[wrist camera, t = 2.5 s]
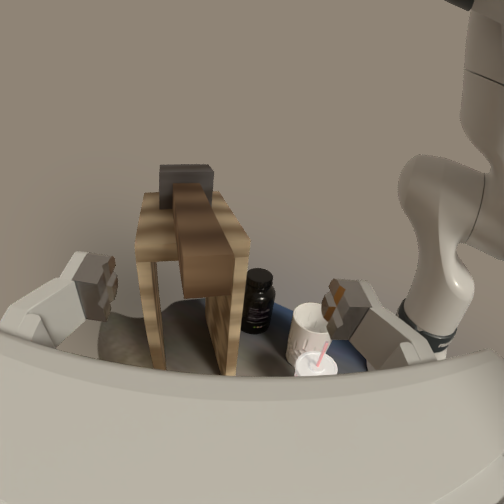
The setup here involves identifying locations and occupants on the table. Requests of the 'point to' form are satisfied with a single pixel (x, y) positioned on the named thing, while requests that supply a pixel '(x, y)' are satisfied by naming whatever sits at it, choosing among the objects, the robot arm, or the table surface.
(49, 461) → the robot arm
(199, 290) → the mallet
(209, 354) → the table surface
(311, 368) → the beverage cup
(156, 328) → the stand
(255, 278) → the supplement bottle
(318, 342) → the white cup
